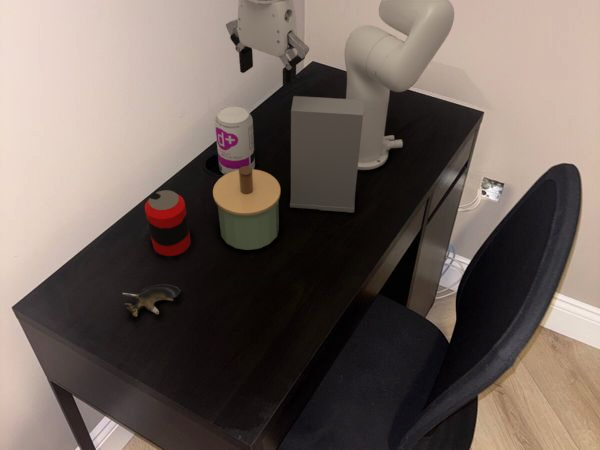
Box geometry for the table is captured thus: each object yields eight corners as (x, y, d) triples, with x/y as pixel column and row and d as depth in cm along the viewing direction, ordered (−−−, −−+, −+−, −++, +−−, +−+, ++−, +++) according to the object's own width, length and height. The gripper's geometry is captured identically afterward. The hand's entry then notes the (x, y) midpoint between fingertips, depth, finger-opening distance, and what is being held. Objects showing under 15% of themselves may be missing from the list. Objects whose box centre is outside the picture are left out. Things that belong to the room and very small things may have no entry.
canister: (273, 208, 131) (272, 170, 124) (283, 247, 123) (282, 209, 115) (218, 215, 129) (213, 177, 122) (224, 255, 121) (219, 216, 113)
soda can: (168, 226, 126) (159, 182, 118) (198, 238, 124) (191, 194, 116) (145, 249, 122) (135, 205, 113) (176, 262, 119) (168, 218, 111)
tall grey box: (354, 194, 134) (364, 97, 117) (353, 213, 130) (363, 115, 113) (292, 190, 135) (293, 93, 118) (289, 209, 131) (290, 111, 113)
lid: (274, 170, 125) (274, 145, 120) (286, 213, 115) (285, 188, 111) (210, 177, 123) (207, 153, 118) (216, 222, 113) (214, 196, 109)
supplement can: (239, 184, 137) (234, 129, 126) (212, 170, 140) (206, 115, 130) (262, 166, 141) (259, 112, 131) (235, 153, 145) (231, 99, 134)
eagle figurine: (148, 333, 105) (188, 301, 109) (124, 303, 103) (166, 270, 106) (136, 323, 112) (175, 293, 115) (114, 294, 109) (154, 264, 113)
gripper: (320, -10, 99) (317, 82, 111) (237, -33, 106) (242, 56, 118) (295, 6, 95) (294, 101, 106) (209, -19, 101) (218, 72, 113)
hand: (267, 77), depth 112 cm, fingers open, 9 cm apart
